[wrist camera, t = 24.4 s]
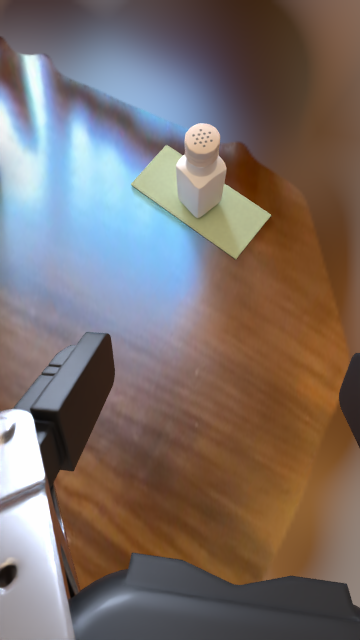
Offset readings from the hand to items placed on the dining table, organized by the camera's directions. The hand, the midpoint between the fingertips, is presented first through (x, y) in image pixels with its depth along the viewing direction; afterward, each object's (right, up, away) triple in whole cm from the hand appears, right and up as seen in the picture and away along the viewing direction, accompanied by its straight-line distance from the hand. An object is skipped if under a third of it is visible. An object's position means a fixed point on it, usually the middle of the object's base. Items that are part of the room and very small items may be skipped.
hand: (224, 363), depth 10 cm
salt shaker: (+1, +16, +26) cm, 30 cm away
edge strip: (+1, +16, +26) cm, 31 cm away
